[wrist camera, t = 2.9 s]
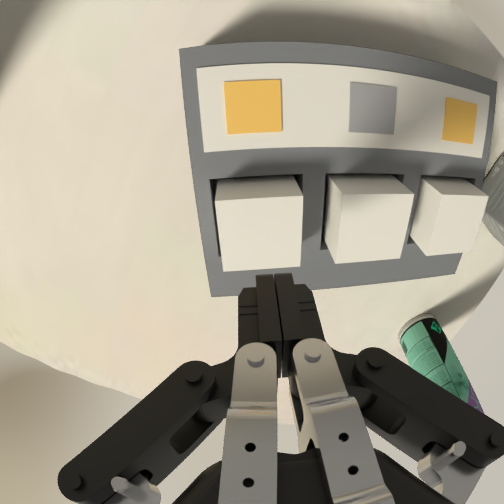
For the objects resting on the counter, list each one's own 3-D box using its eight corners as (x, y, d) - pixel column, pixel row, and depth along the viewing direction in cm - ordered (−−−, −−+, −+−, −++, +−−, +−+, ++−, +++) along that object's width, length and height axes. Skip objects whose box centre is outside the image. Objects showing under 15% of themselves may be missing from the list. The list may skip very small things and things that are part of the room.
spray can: (409, 347, 35) (460, 479, 19) (390, 335, 33) (445, 485, 17) (441, 322, 33) (503, 454, 16) (424, 307, 31) (496, 457, 14)
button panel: (214, 256, 25) (211, 298, 21) (192, 53, 16) (178, 48, 12) (428, 241, 26) (455, 275, 21) (455, 73, 17) (498, 82, 12)
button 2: (224, 243, 20) (223, 271, 17) (218, 179, 17) (214, 201, 15) (292, 238, 20) (300, 266, 18) (293, 175, 18) (303, 195, 15)
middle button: (323, 237, 20) (335, 263, 18) (327, 174, 18) (342, 194, 15) (382, 233, 20) (399, 258, 18) (391, 174, 18) (414, 194, 15)
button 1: (407, 232, 20) (426, 256, 18) (418, 175, 18) (442, 194, 15) (451, 230, 20) (471, 251, 18) (464, 178, 18) (488, 196, 15)
